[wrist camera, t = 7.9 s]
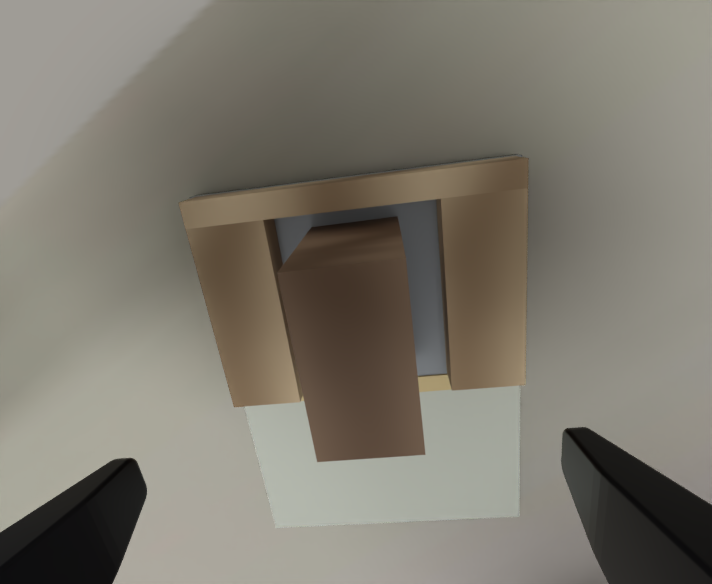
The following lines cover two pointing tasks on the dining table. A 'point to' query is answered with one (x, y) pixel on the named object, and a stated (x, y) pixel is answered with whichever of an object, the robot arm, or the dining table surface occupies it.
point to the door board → (438, 408)
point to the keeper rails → (444, 183)
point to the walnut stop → (354, 340)
